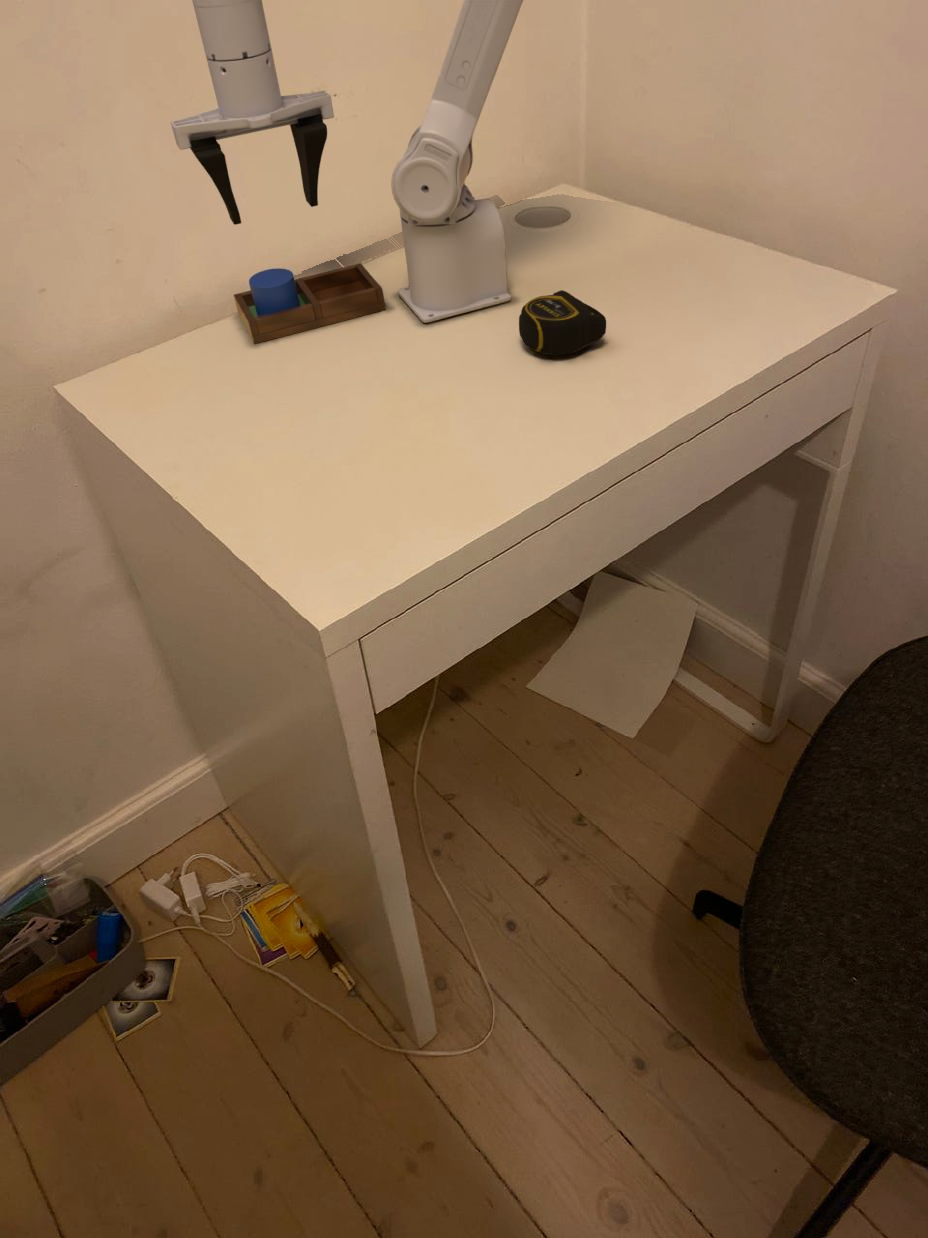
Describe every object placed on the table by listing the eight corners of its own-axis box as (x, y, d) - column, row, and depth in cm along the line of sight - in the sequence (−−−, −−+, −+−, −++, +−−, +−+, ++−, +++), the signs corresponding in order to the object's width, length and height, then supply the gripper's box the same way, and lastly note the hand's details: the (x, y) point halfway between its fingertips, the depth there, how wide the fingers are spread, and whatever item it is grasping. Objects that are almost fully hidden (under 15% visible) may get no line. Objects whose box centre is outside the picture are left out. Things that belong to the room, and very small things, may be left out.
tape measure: (609, 348, 84) (610, 309, 82) (545, 371, 82) (544, 331, 80) (568, 320, 89) (568, 282, 86) (506, 341, 87) (504, 303, 84)
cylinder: (294, 297, 96) (287, 264, 93) (305, 314, 93) (298, 280, 90) (252, 308, 95) (244, 274, 92) (262, 325, 92) (254, 291, 89)
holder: (364, 283, 99) (360, 262, 97) (385, 309, 94) (382, 287, 92) (239, 315, 96) (233, 294, 94) (254, 344, 91) (248, 322, 89)
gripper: (163, 78, 77) (208, 242, 86) (330, 45, 80) (357, 207, 89) (151, 61, 82) (195, 218, 91) (309, 31, 85) (336, 186, 94)
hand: (274, 211), depth 90 cm, fingers open, 7 cm apart
